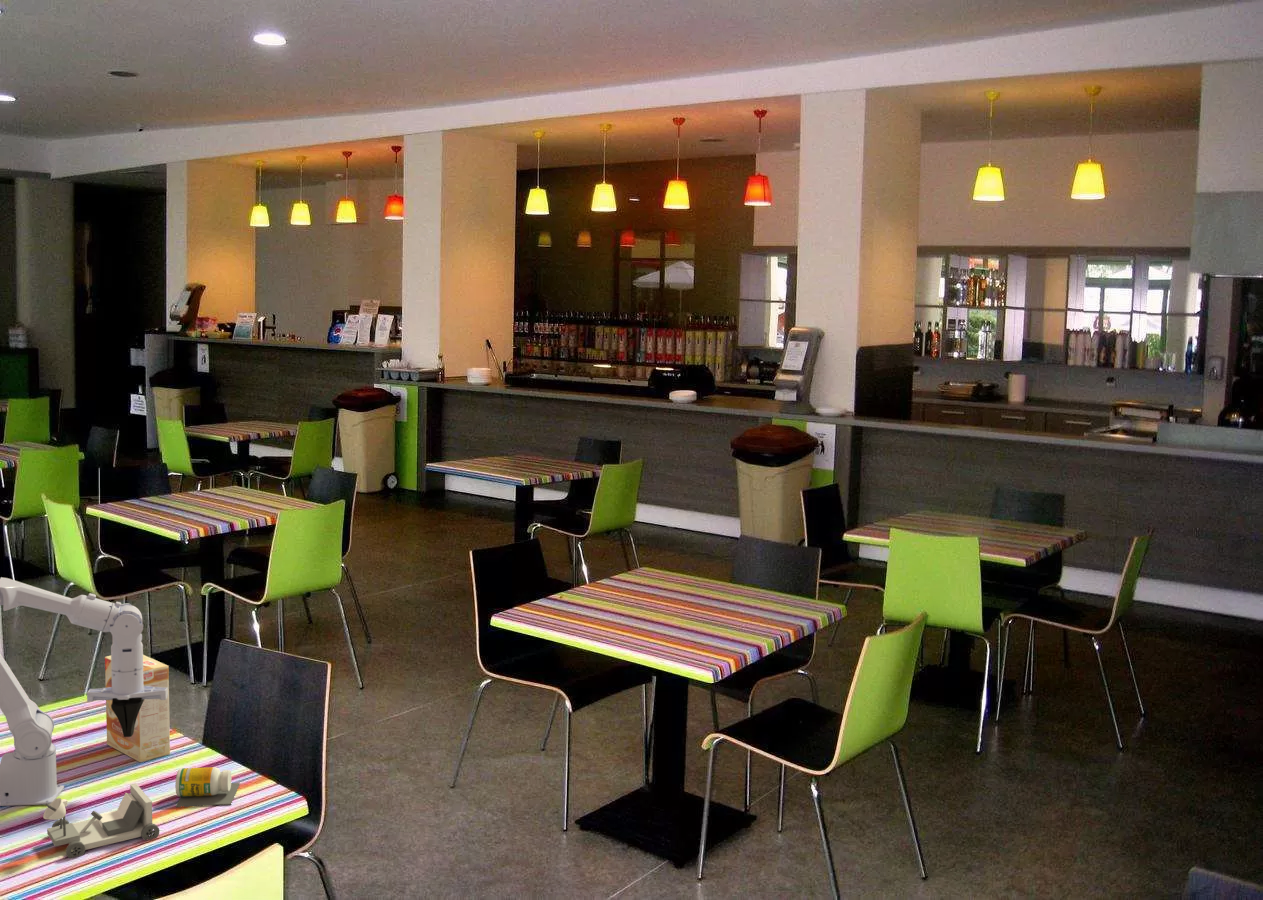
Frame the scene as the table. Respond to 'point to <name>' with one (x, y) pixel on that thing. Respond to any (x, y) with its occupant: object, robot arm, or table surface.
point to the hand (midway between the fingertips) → (128, 735)
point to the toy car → (103, 824)
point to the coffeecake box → (142, 717)
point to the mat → (210, 798)
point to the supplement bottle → (202, 781)
